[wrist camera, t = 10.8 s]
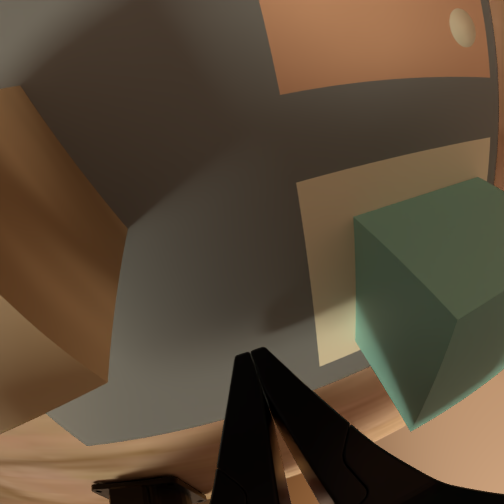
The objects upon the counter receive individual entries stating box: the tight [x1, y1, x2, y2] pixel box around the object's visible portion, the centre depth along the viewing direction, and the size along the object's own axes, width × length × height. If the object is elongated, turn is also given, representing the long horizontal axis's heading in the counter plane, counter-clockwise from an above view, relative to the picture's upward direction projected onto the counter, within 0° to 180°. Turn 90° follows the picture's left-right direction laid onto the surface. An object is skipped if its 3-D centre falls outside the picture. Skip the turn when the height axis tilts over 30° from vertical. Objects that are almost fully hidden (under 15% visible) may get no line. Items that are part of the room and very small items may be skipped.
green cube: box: [353, 177, 504, 431], centre depth 8 cm, size 5×5×4 cm
